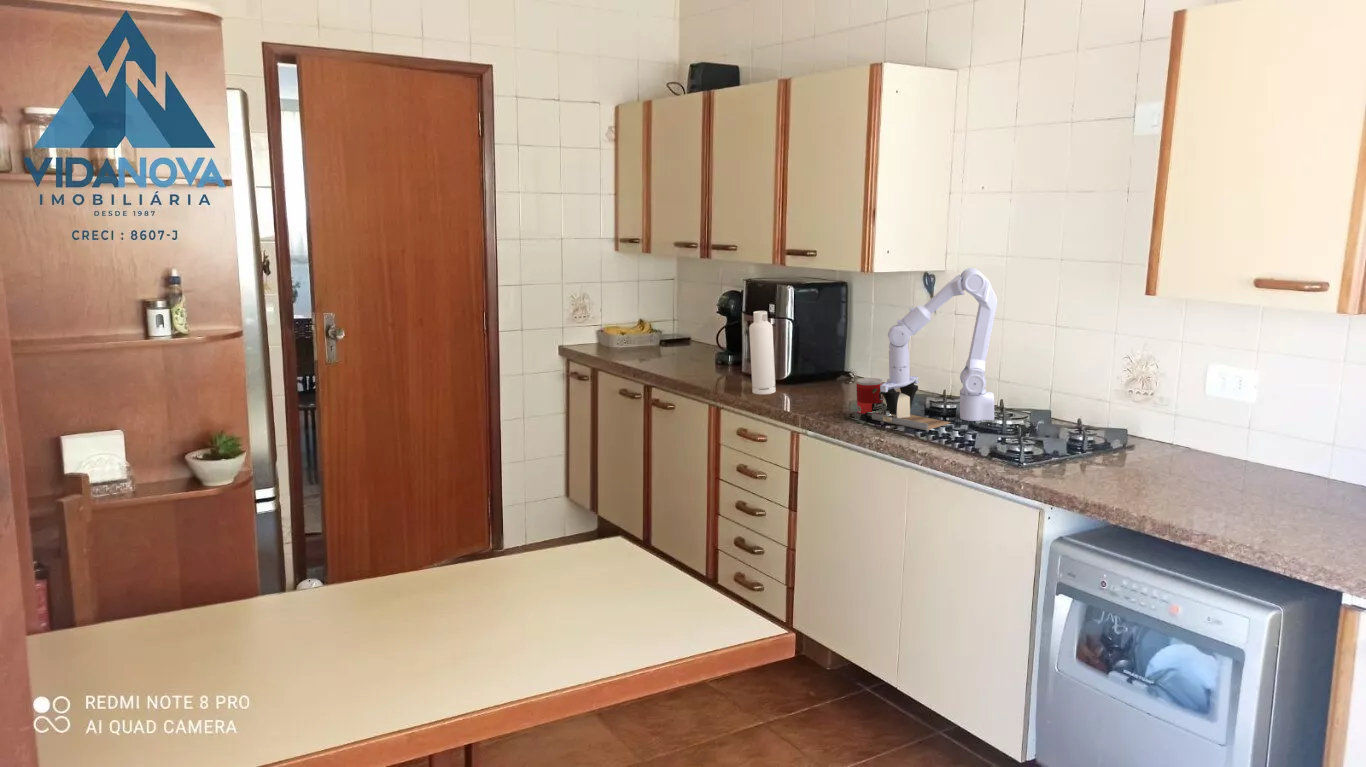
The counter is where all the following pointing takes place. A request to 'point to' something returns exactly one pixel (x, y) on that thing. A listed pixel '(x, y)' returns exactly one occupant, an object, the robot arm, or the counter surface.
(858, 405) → the canned food
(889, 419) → the shelf
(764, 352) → the bottle
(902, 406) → the carton
